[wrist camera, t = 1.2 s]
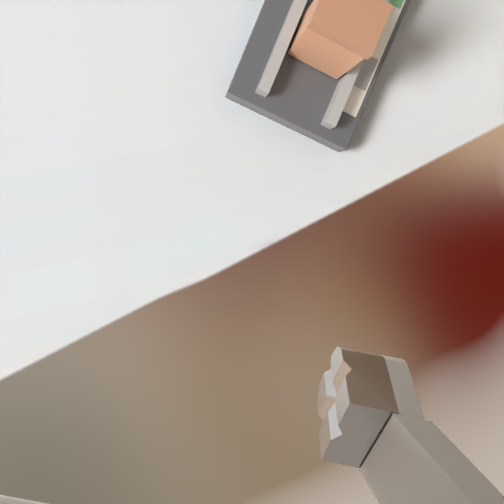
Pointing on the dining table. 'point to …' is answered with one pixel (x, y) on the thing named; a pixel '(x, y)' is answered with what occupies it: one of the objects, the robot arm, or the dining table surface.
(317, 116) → the switch board
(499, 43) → the dining table surface
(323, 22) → the switch tab
